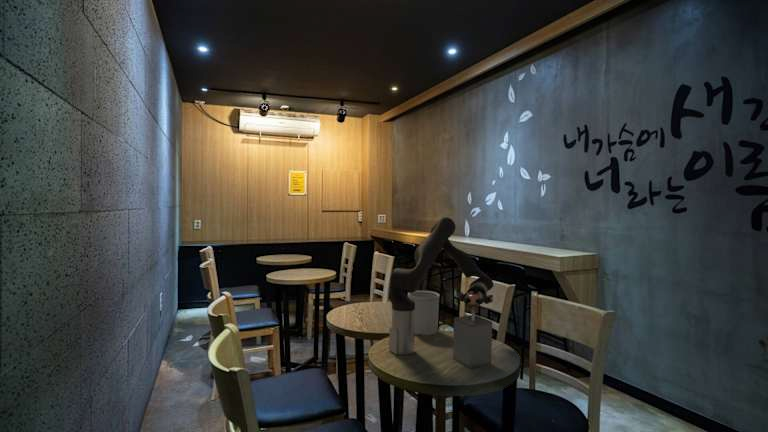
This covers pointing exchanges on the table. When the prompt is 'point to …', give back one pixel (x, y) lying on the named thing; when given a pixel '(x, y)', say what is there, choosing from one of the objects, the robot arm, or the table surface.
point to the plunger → (473, 303)
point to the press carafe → (472, 341)
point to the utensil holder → (425, 311)
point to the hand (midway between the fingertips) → (472, 301)
